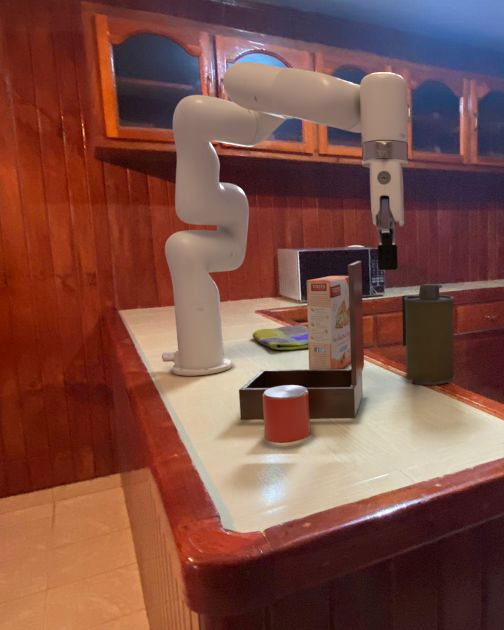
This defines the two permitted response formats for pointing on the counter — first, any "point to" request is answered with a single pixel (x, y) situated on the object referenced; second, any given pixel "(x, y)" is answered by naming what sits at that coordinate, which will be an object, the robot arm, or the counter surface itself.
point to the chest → (323, 389)
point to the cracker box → (328, 322)
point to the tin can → (286, 413)
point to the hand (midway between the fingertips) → (388, 269)
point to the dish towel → (283, 337)
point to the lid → (356, 320)
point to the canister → (429, 336)
